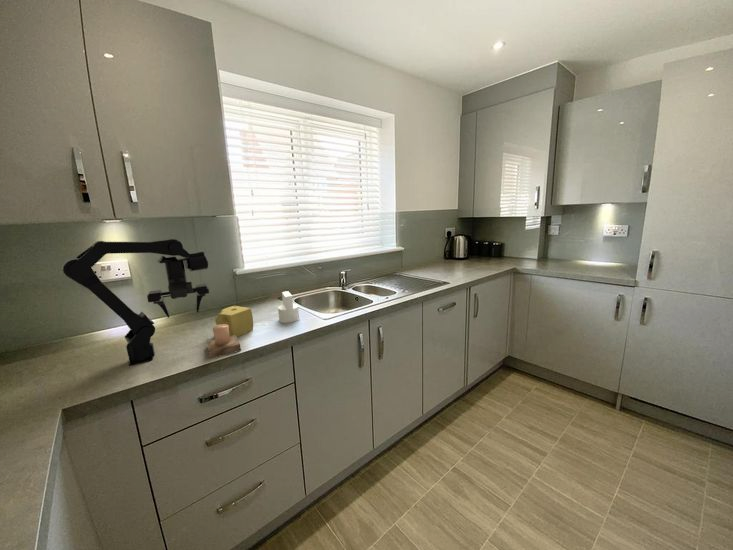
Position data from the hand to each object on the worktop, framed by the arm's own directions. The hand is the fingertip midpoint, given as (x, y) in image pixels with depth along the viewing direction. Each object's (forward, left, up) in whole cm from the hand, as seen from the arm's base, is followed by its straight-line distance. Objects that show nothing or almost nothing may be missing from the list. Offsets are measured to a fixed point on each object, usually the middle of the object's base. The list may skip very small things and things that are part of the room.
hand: (183, 314), depth 110 cm
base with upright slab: (+40, +4, -12) cm, 42 cm away
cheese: (+17, +2, -12) cm, 21 cm away
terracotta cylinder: (+11, -12, -9) cm, 19 cm away
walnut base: (+11, -12, -12) cm, 20 cm away
